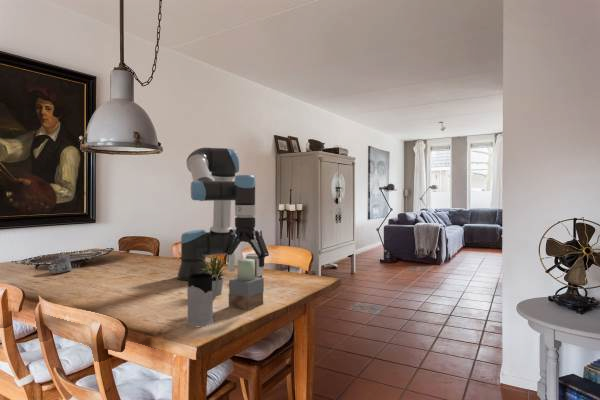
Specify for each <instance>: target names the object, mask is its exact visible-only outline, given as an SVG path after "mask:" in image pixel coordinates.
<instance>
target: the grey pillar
mask: <svg viewBox="0 0 600 400" xmlns="http://www.w3.org/2000/svg"><path fill="white" fill-rule="evenodd" d="M214 276H216V290H215V294H214V296H213V290H212V278H213V277H214ZM217 290H218V276H217V275H211V274H206V273H201V274H193V275H189V276H188V281H187V321H186V324H187V325H188V326H187V325H186V326H187V327H190V326H193V327H192V328H196V327H195V326H204V327H207V326H206V325H208V326H210V325H209V324H211V325H212V323H213V322H215V319H214V308H213V307H214V305H213V303H214V300H215V299H216V294H217ZM213 324H214V323H213Z"/></svg>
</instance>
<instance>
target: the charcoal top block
mask: <svg viewBox="0 0 600 400" xmlns="http://www.w3.org/2000/svg"><path fill="white" fill-rule="evenodd" d="M228 283H229V284H228V286H229V287H228V295H229V294H234V295H239V296H244V297H250V296H253V295H255V294H258V293H261V292H263V293H264V292H265V291H264V288H265V284H264V283H265V281H264V277H262V278H259V277H255V279H254V280H252V281H239V280H238V277H236V278H235V277H234V278H231V279H229V280H228Z"/></svg>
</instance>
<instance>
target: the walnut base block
mask: <svg viewBox="0 0 600 400" xmlns="http://www.w3.org/2000/svg"><path fill="white" fill-rule="evenodd" d="M262 305H264V292H261V293H258V294H255V295H253V296H250V297H244V296H239V295H234V294H229V293H228V308H229V307H230V308H233V309H236V310H237V309H238V310H242V311H247V312H248V311H251V310H253V309H255V308H257V307H260V306H262Z"/></svg>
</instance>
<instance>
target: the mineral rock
mask: <svg viewBox="0 0 600 400" xmlns="http://www.w3.org/2000/svg"><path fill="white" fill-rule="evenodd" d="M47 269H48V271H49V273H50V274H54V275H56V274H64V273H65V272H72V271H73V270H72V265H71V255H70V254H63V253H60V254H59V255H58V257H56V259H54V260H53V261H52V262H51V263H50V264H49V266H48V267H47Z"/></svg>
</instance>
